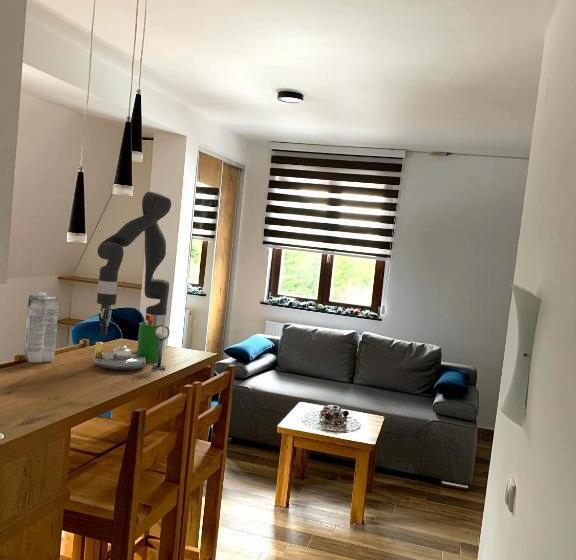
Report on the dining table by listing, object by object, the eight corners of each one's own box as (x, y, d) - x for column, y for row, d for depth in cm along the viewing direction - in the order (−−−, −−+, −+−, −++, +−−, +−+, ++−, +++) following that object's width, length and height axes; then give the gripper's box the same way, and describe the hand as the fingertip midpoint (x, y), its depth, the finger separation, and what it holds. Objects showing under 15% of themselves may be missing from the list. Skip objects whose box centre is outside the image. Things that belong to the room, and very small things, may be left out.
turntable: (137, 358, 263) (139, 338, 262) (151, 368, 245) (153, 347, 245) (89, 358, 253) (90, 337, 253) (99, 369, 236) (101, 347, 235)
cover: (120, 355, 253) (121, 343, 253) (134, 358, 251) (135, 346, 250) (109, 357, 247) (110, 345, 247) (123, 360, 244) (124, 348, 244)
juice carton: (55, 362, 246) (60, 294, 245) (27, 363, 240) (32, 294, 239) (49, 358, 254) (54, 292, 252) (22, 358, 248) (27, 291, 246)
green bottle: (162, 359, 272) (166, 314, 271) (156, 363, 263) (160, 316, 262) (140, 356, 273) (143, 311, 272) (132, 360, 264) (136, 313, 263)
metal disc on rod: (151, 366, 256) (155, 323, 255) (166, 367, 257) (170, 324, 256) (151, 369, 251) (154, 325, 250) (166, 370, 252) (170, 326, 251)
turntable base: (118, 363, 256) (118, 360, 256) (137, 367, 252) (137, 365, 252) (100, 366, 247) (101, 363, 247) (120, 371, 243) (120, 368, 243)
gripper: (113, 294, 243) (109, 338, 244) (120, 291, 257) (116, 333, 258) (93, 292, 243) (89, 336, 244) (101, 290, 256) (98, 331, 257)
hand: (103, 335), depth 251 cm, fingers closed
